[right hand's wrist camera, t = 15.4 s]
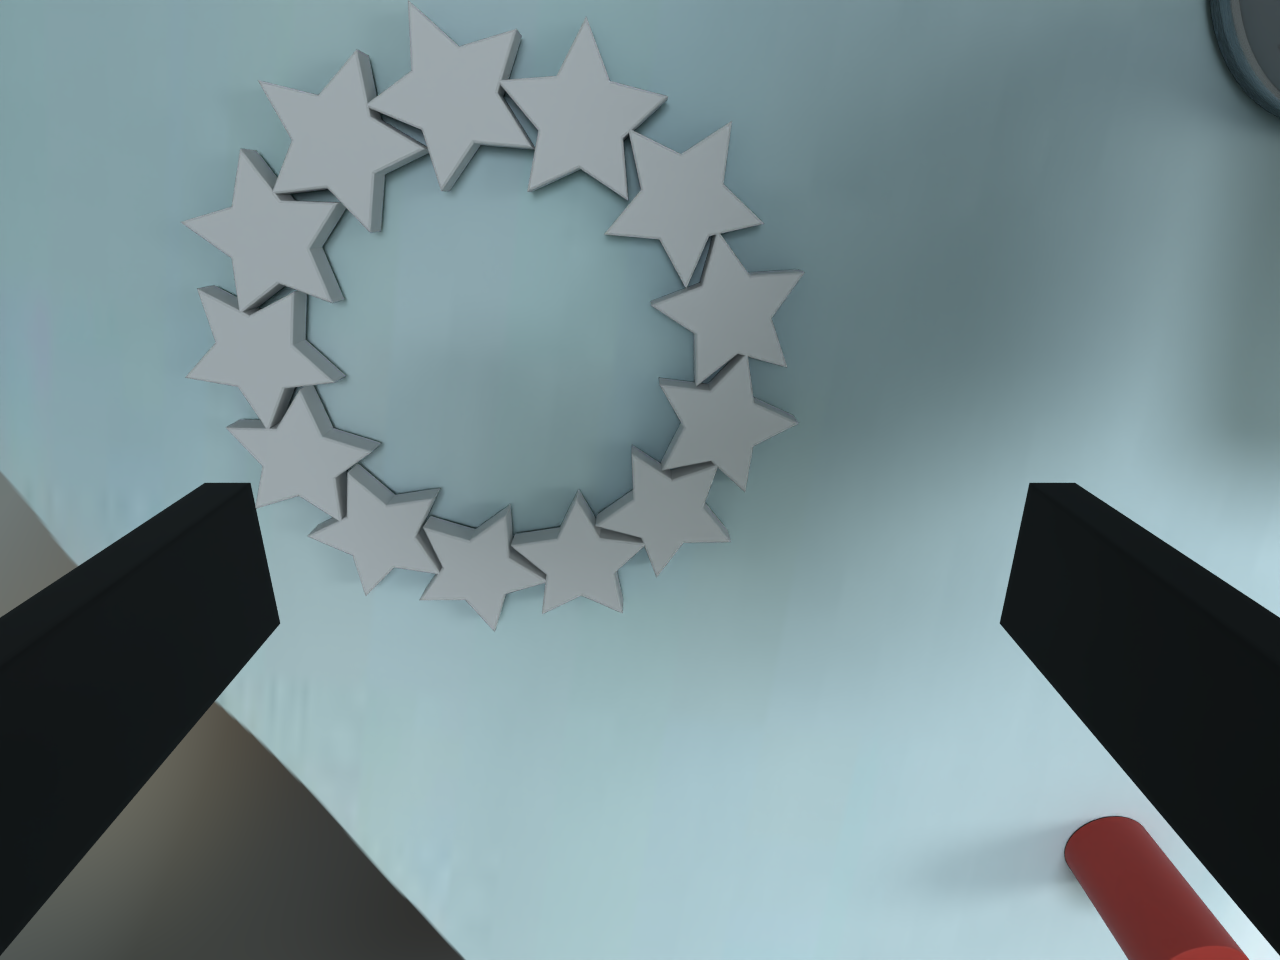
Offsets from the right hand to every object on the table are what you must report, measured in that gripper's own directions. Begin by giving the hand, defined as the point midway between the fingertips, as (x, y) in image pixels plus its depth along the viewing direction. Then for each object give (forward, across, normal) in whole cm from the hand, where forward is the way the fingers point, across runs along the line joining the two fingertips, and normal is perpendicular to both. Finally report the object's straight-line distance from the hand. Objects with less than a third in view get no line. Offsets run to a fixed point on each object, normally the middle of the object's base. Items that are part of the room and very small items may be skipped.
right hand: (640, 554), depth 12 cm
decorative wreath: (+25, -7, -2) cm, 26 cm away
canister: (+25, +31, -35) cm, 53 cm away
